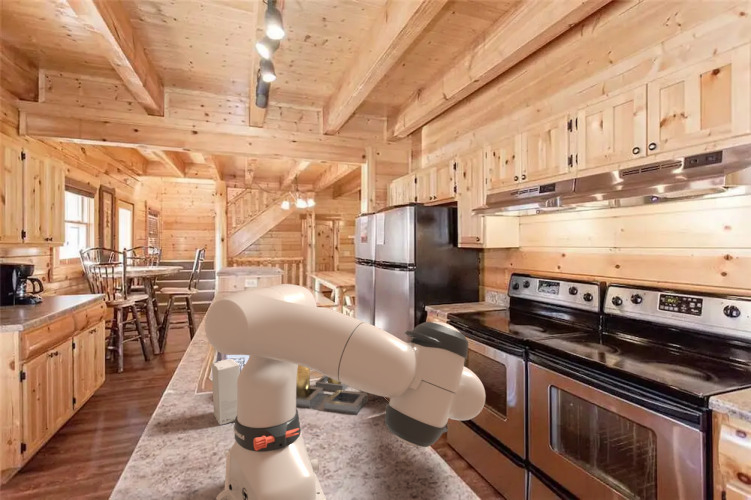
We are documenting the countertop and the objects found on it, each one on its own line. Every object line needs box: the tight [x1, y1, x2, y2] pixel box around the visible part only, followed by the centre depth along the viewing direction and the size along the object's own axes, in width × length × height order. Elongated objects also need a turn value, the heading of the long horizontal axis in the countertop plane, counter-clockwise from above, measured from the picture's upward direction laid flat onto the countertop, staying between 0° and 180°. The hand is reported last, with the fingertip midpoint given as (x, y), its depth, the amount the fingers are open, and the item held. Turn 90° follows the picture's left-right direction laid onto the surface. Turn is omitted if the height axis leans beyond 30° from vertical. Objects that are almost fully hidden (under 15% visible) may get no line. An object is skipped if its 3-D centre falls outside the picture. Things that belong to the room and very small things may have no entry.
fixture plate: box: [296, 385, 369, 416], centre depth 111 cm, size 24×11×3 cm, turn 74°
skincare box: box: [211, 358, 240, 426], centre depth 103 cm, size 8×6×15 cm
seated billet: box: [296, 365, 311, 398], centre depth 112 cm, size 4×4×12 cm
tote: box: [315, 375, 349, 392], centre depth 123 cm, size 9×9×3 cm
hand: (362, 368), depth 121 cm, fingers open, 8 cm apart
